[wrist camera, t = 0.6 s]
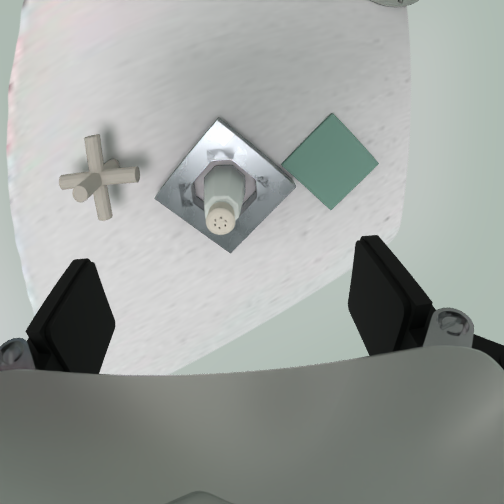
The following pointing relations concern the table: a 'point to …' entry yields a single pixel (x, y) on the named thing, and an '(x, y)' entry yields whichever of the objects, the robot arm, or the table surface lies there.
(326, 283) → the table surface
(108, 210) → the pipe connector
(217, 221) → the pepper shaker
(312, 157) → the mat
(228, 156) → the frame
